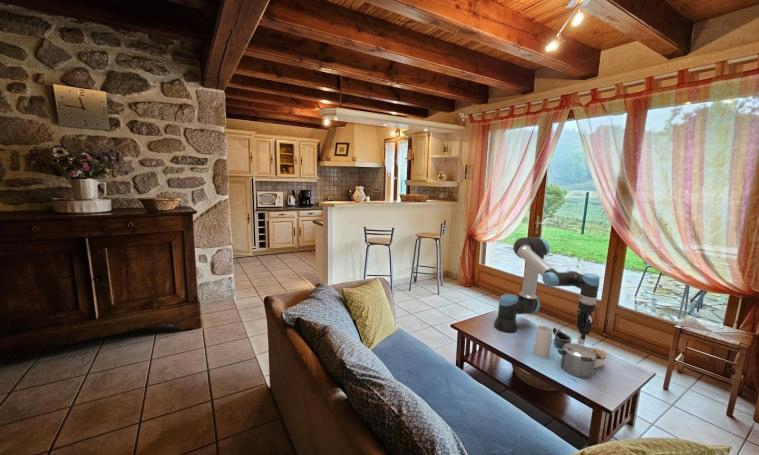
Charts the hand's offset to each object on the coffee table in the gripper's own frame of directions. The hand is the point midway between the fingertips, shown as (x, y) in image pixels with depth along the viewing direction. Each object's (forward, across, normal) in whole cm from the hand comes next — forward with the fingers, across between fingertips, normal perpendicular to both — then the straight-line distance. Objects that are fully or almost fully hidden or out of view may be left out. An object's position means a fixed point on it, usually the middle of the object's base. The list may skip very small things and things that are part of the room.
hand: (580, 343), depth 174 cm
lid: (+5, +1, 0) cm, 5 cm away
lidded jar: (+16, -8, +12) cm, 21 cm away
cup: (+16, -14, -14) cm, 25 cm away
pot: (+16, 0, 0) cm, 16 cm away
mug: (+16, -27, +2) cm, 31 cm away
